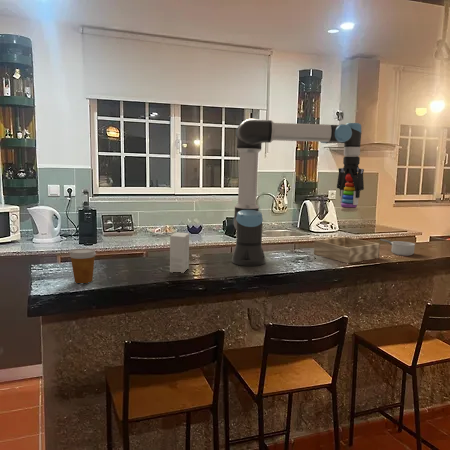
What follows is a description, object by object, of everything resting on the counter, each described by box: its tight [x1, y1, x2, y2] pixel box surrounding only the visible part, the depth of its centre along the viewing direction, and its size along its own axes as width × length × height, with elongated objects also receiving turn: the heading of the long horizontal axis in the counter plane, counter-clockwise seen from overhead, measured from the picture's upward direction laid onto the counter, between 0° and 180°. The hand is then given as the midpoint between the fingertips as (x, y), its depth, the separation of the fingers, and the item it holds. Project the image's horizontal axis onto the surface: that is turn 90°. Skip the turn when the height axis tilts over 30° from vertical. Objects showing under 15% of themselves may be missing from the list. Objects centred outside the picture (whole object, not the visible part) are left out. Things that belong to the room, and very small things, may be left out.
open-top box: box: [313, 236, 381, 264], centre depth 215 cm, size 22×22×7 cm
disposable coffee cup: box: [68, 247, 97, 284], centre depth 164 cm, size 10×10×12 cm
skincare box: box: [169, 231, 190, 274], centre depth 182 cm, size 8×7×16 cm
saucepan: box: [379, 238, 416, 257], centre depth 226 cm, size 12×20×6 cm, turn 30°
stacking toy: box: [339, 174, 358, 213], centre depth 211 cm, size 8×8×19 cm
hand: (349, 203), depth 212 cm, fingers closed on stacking toy, 7 cm apart
